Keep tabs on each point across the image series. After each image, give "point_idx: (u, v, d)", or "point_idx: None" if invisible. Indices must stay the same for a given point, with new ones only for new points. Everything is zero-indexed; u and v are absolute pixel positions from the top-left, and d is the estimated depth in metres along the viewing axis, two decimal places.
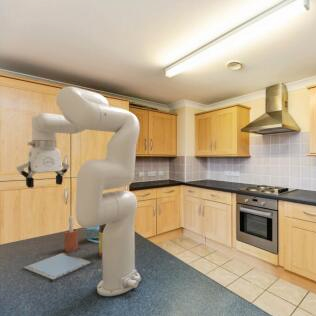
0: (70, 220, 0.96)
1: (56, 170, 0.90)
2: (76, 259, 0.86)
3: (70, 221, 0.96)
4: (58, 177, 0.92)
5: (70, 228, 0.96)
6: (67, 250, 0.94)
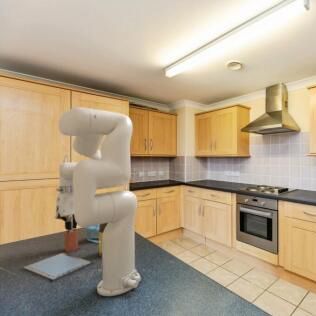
0: (70, 220, 0.96)
1: None
2: (76, 259, 0.86)
3: None
4: (73, 222, 0.97)
5: None
6: (67, 250, 0.94)
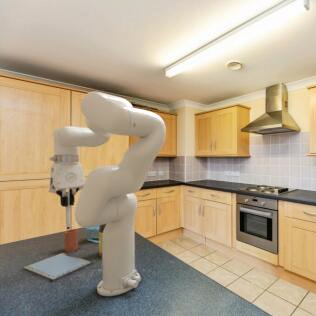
0: (66, 195, 0.83)
1: (78, 185, 0.85)
2: (76, 259, 0.86)
3: None
4: (70, 197, 0.84)
5: None
6: (67, 250, 0.94)
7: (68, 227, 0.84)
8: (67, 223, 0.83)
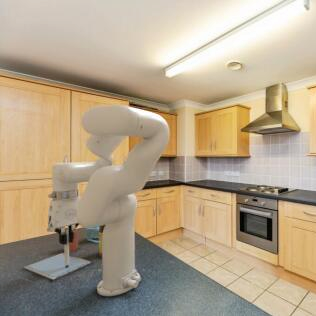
0: (65, 232, 0.79)
1: (78, 221, 0.81)
2: (76, 259, 0.86)
3: (65, 233, 0.79)
4: (69, 234, 0.80)
5: None
6: None
7: (67, 265, 0.80)
8: (66, 261, 0.80)
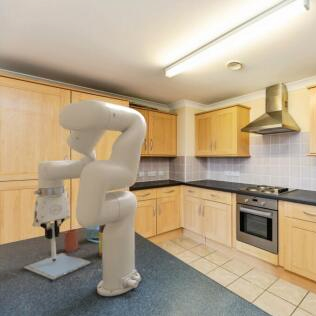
0: (51, 227, 0.83)
1: (63, 217, 0.85)
2: (76, 259, 0.86)
3: (51, 228, 0.83)
4: (55, 229, 0.84)
5: None
6: (67, 250, 0.94)
7: (54, 259, 0.83)
8: (53, 255, 0.83)
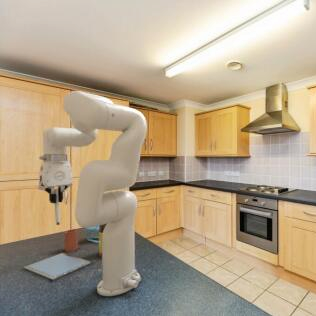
0: (55, 192, 0.88)
1: (67, 183, 0.90)
2: (76, 259, 0.86)
3: (55, 193, 0.88)
4: (58, 194, 0.89)
5: None
6: (67, 250, 0.94)
7: (58, 223, 0.88)
8: (57, 219, 0.88)
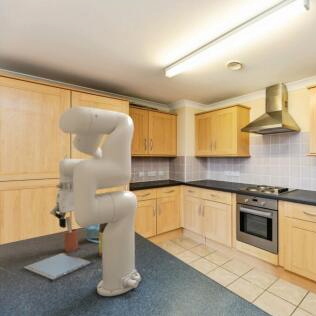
0: (67, 220, 0.97)
1: None
2: (76, 259, 0.86)
3: (67, 221, 0.97)
4: None
5: (68, 228, 0.97)
6: (67, 250, 0.94)
7: None
8: None
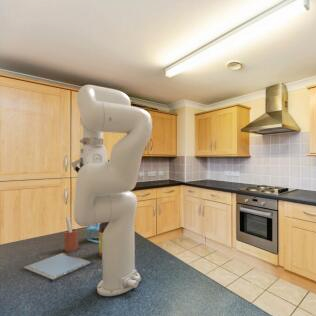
0: (67, 220, 0.97)
1: None
2: (76, 259, 0.86)
3: (67, 221, 0.97)
4: None
5: (68, 228, 0.97)
6: (67, 250, 0.94)
7: None
8: None
